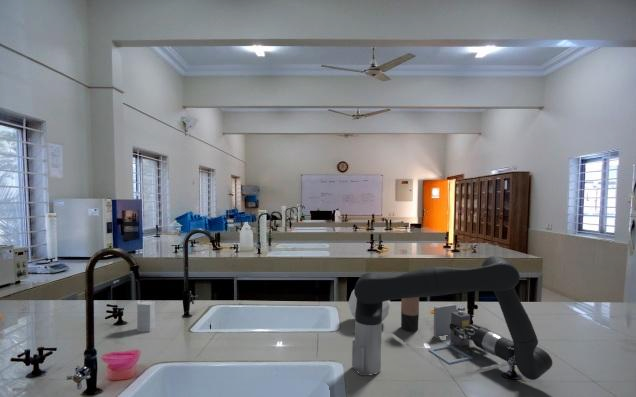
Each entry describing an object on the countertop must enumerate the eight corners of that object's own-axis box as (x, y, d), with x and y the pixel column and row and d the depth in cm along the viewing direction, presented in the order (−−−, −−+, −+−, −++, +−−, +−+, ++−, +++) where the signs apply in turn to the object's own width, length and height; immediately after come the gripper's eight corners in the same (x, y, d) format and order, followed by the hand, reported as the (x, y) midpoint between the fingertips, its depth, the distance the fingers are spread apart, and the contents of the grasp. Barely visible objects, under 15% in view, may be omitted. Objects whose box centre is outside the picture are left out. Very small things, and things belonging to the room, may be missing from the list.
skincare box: (155, 328, 151) (155, 301, 151) (149, 332, 147) (150, 304, 147) (142, 327, 152) (142, 301, 152) (136, 331, 148) (136, 304, 147)
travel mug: (414, 336, 146) (415, 290, 146) (397, 332, 151) (398, 287, 150) (420, 331, 152) (421, 287, 152) (404, 326, 157) (405, 283, 157)
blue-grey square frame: (449, 368, 121) (449, 362, 120) (428, 354, 131) (428, 349, 131) (472, 362, 125) (472, 357, 125) (450, 349, 135) (450, 344, 135)
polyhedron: (375, 341, 156) (380, 317, 144) (339, 317, 166) (341, 293, 153) (394, 312, 168) (400, 287, 156) (360, 292, 178) (363, 267, 165)
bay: (449, 349, 135) (450, 314, 135) (433, 339, 144) (434, 306, 143) (470, 344, 139) (471, 311, 139) (453, 335, 148) (454, 303, 148)
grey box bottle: (460, 346, 134) (461, 314, 134) (450, 341, 139) (451, 310, 138) (469, 344, 136) (470, 312, 136) (459, 339, 141) (460, 308, 140)
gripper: (504, 329, 127) (468, 313, 142) (476, 334, 121) (442, 318, 137) (504, 349, 127) (468, 331, 142) (475, 355, 121) (441, 336, 137)
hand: (455, 325), depth 140 cm, fingers closed on grey box bottle, 5 cm apart
